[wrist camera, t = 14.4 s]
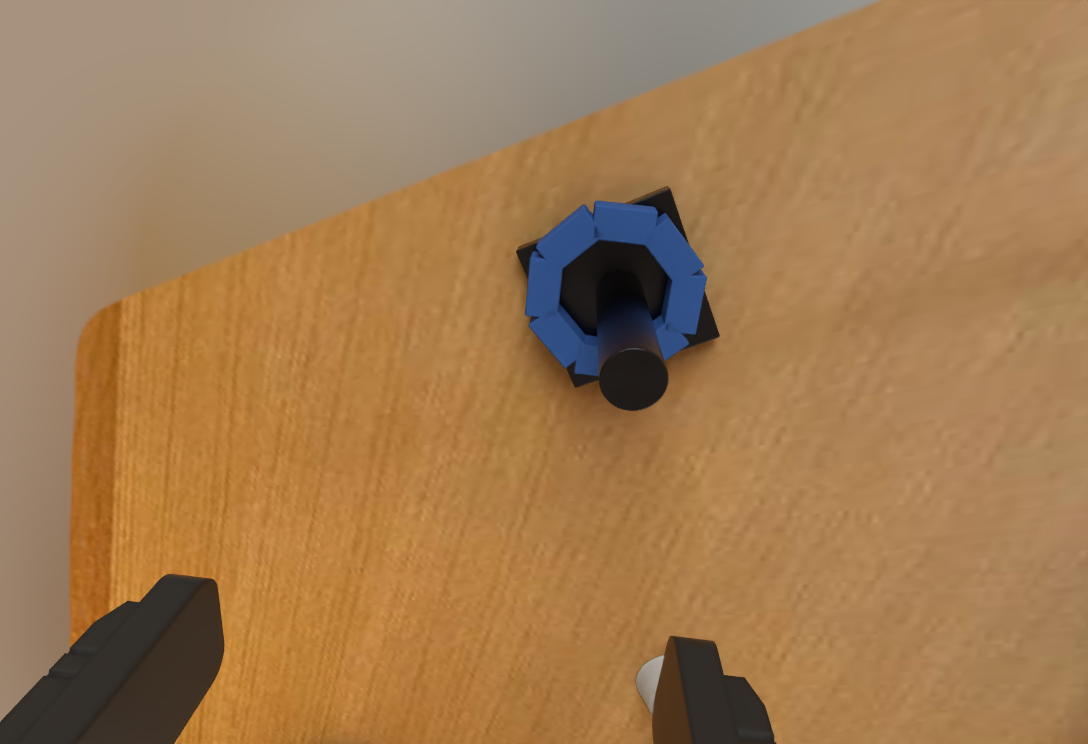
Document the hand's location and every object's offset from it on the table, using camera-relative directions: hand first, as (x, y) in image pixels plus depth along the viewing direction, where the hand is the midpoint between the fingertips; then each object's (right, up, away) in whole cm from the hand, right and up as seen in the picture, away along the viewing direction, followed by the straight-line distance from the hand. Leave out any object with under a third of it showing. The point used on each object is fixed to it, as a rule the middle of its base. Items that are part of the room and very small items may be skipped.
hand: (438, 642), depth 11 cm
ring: (+5, +9, +21) cm, 23 cm away
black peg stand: (+6, +9, +22) cm, 25 cm away
